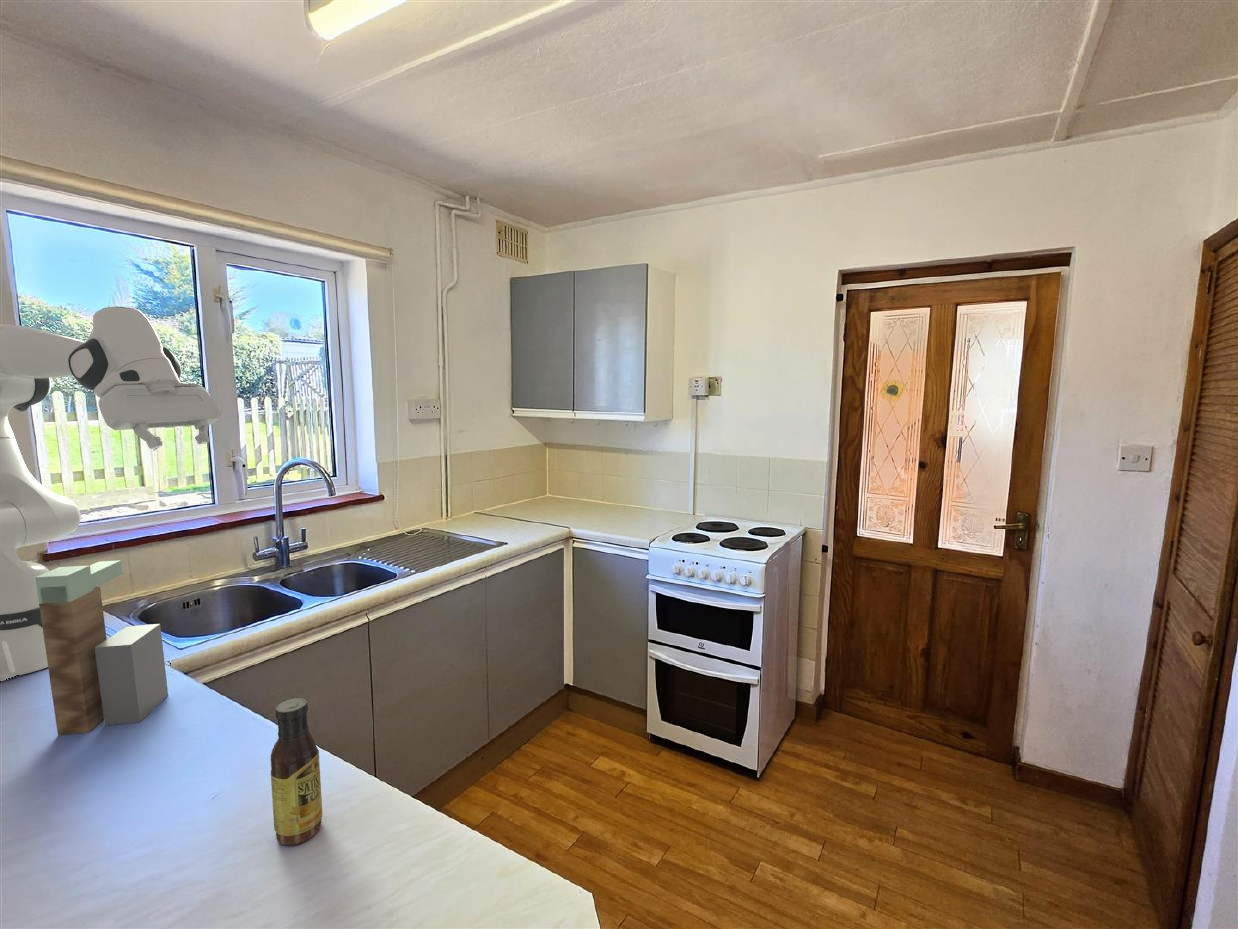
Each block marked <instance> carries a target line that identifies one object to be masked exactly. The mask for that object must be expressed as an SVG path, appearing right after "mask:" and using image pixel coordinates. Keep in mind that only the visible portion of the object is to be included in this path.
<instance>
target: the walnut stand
mask: <svg viewBox="0 0 1238 929" xmlns="http://www.w3.org/2000/svg"><path fill="white" fill-rule="evenodd" d="M39 607H40V614H41V621H42V628H43V635H44V642H45V649H46V656H47V663H48V667H47V668H48V676H49V677H48V678H49V682H50V683H49V684H50V690H51V695H52V703H53V711H54V717H55V724H56V730H57V731H56V732H57V736H67V735H78V734H88V733H90V732H91V731H92V730H94V729H95V728H96V727H97V726H98V725H99V724H100V723H102V722H103V721H104V715H103V707H102V700H101V692H100V685H99V677H98V669H97V662H96V654H95V647H96V646H98V645H99V644H101V643H102V642H104V641H105V640H107V639H108V637H107V630H106V623H105V615H104V608H103V601H102V593H101V586H98V587H96V588H94V589H93V591H91V592H89V593H87V594H85V595H83V596H81V597H79V598H77V599H75V600H73V601H71V602H57V603H42V604H39Z"/></svg>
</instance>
